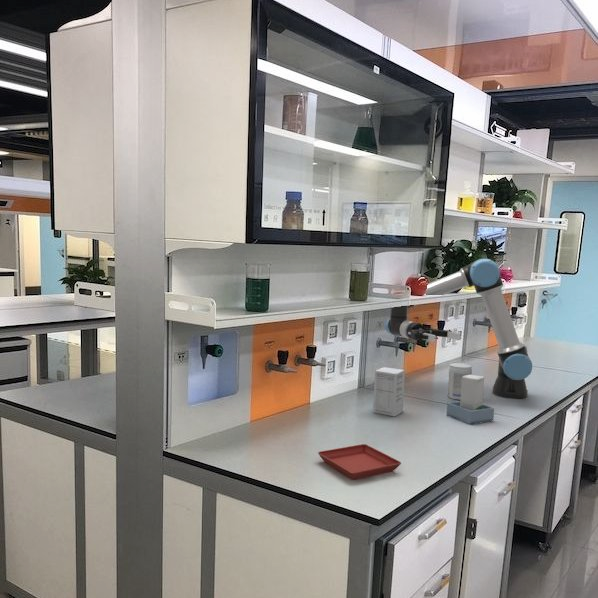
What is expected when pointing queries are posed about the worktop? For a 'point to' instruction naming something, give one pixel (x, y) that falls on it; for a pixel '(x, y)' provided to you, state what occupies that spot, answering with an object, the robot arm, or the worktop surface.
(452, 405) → the crate
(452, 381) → the supplement tub
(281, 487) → the worktop surface
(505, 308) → the robot arm
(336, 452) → the plant saucer
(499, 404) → the worktop surface
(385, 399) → the supplement box
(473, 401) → the skincare box
